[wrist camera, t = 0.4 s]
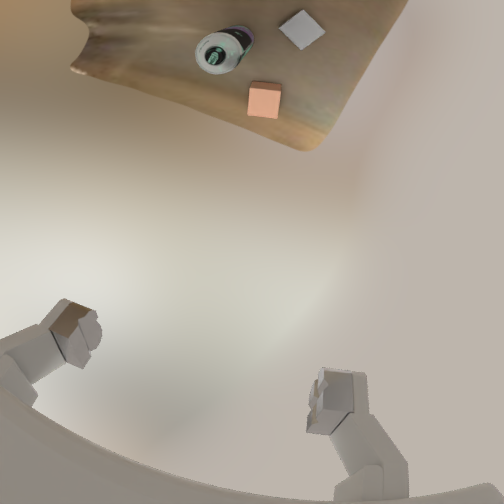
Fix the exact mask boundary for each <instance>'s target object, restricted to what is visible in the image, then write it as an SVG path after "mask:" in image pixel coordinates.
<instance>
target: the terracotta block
mask: <svg viewBox="0 0 504 504" xmlns="http://www.w3.org/2000/svg"><path fill="white" fill-rule="evenodd" d="M280 95H281V84H274V83H266V82H257V81H252V84H251V86H250V92H249V103H248V114H247V115H251V116H260V117H268V118H276V119H277V116H278V109H279V102H280Z"/></svg>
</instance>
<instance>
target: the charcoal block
mask: <svg viewBox="0 0 504 504" xmlns="http://www.w3.org/2000/svg"><path fill="white" fill-rule="evenodd" d="M279 29H280V30H281V31H282V32H283V33H284V34H285V35H286V36H287V37H288V38H289V39H290V40H291V41H292V42H293V43H294V44H295V45H296V46H297V47H298V48H299V49H300V50H303V49H304V48H305V47H307V46H308V45H309V44H311V43H312V42H313V41H315V40H316V39H317V38H319V37H320V36H322V35H323V34H324V33H326V32H325V31H324V30H323V29H322V28H321V27H320V26H319V25H318V24H317V23H316V22H315V21H314V20H313V19H312V18H311V17H310V16H309V15H308V14H307V13H306V12H305V11H304V10H300V11H299V12H298V13H296V14H295V15H294V16H292V17H291V18H290V19H288V20H287V21H286V22H284V23H283V24H282V25H281V26H279Z"/></svg>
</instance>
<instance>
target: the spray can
mask: <svg viewBox="0 0 504 504" xmlns="http://www.w3.org/2000/svg"><path fill="white" fill-rule="evenodd" d="M253 43H254V36H253V34H252V32H251V31H250V30H249V29H248V28H246V27H244V26H239V25H236V26H231V27H228V28H226V29H223V30H220V31H217V32H215V33H212V34H210V35H208V36H206V37H204V38H203V39H202V40H201V41H200V43H199V44H198V46H197V48H196V52H195V56H196V61H197V63H198V65H199V66H200V67H201V68H202V69H203V70H205V71H206V72H208V73H211V74H224V73H227V72H229V71H231V70H233V69H234V68H235V67H236V66H237V65H238V64H239V63H240V61H241V60H242V59H243V57H244V56H245V55H246V54H247V52H248V51H249V50H250V49H251V47H252V46H253Z"/></svg>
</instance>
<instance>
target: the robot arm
mask: <svg viewBox="0 0 504 504" xmlns="http://www.w3.org/2000/svg"><path fill="white" fill-rule="evenodd" d="M97 318H98V316H97V313H96V311H94V310H92V309H90V308H87V307H84V306H82V305H79V304H77V303H74V302H72V301H70V300H67V299H61V300H60V301H59V302H58V303H57V304H56V305H55V306H54V308H53V309H52V310H51V311H50V312H49V313H48V315H47V316H46V317H45V318H44V319H43V320H42V322H41V323H40V324H39V325H37V324H35V325H33V326H30V327H28V328H26V329H23V330H21V331H19V332H16V333H14V334H12V335H9V336H7V337H5V338H3V339H1V340H0V504H504V497H503V495H502V494H501V493H500V492H499V490H498V489H497V488H496V487H495V486H494V485H493V484H491V483H483V484H479V485H475V486H471V487H467V488H463V489H459V490H454V491H449V492H444V493H439V494H433V495H427V496H420V497H412V498H409V478H408V463H407V461H406V460H405V459H404V457H403V456H402V454H401V453H400V451H399V450H398V449H397V447H396V446H395V444H394V443H393V442H392V440H391V439H390V437H389V436H388V435H387V433H386V432H385V430H384V429H383V428H382V426H381V425H380V424H379V422H378V421H377V419H376V418H375V416H374V415H371V414H369V402H368V389H367V388H368V387H367V376H366V374H365V373H362V372H353V371H348V370H340V369H332V368H325V367H322V368H321V369H320V371H319V374H318V379H317V380H315V381H314V383H313V385H312V389H311V392H310V397H309V406H310V408H311V411H310V413H309V415H308V417H307V429H306V432H307V433H313V434H321V435H329V436H330V439H331V441H332V443H333V445H334V447H335V449H336V451H337V453H338V455H339V457H340V459H341V461H342V463H343V465H344V466H345V469H346V471H347V472H348V474H349V476H350V477H348V478H347V479H346V480H344V481H342V482H341V483H339V484H338V485H336V486H335V492H334V501H312V500H298V499H288V498H279V497H271V496H264V495H257V494H252V493H246V492H240V491H235V490H230V489H226V488H221V487H217V486H213V485H208V484H205V483H201V482H197V481H193V480H190V479H186V478H183V477H179V476H176V475H173V474H170V473H167V472H164V471H161V470H158V469H155V468H152V467H150V466H147V465H144V464H141V463H139V462H136V461H134V460H131V459H129V458H127V457H124V456H122V455H119V454H117V453H115V452H112V451H110V450H108V449H106V448H104V447H101V446H99V445H97V444H95V443H93V442H91V441H89V440H87V439H85V438H83V437H81V436H79V435H77V434H76V433H74V432H72V431H70V430H68V429H66V428H65V427H63V426H61V425H59V424H58V423H56V422H54V421H52V420H51V419H49V418H48V417H46V416H44V415H43V414H41V413H39V412H38V411H36V410H35V409H33V408H32V405H33V403H34V402H35V400H36V398H37V397H38V394H37V392H36V391H35V389H34V388H33V386H32V384H34V383H35V382H37V381H38V380H40V379H41V378H43V377H45V376H46V375H48V374H49V373H51V372H53V371H54V370H56V369H57V368H59V367H60V366H62V365H64V364H65V363H66V362H67V363H70V364H72V365H74V366H77V367H79V368H81V369H83V368H84V367H85V365H86V364H87V362H88V361H89V359H90V357H91V352H90V351H92V350H94V349H96V348H97V346H98V345H99V343H100V341H101V337H102V329H101V326H100V324H99V323H98V322H97V321H96V320H97Z"/></svg>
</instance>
